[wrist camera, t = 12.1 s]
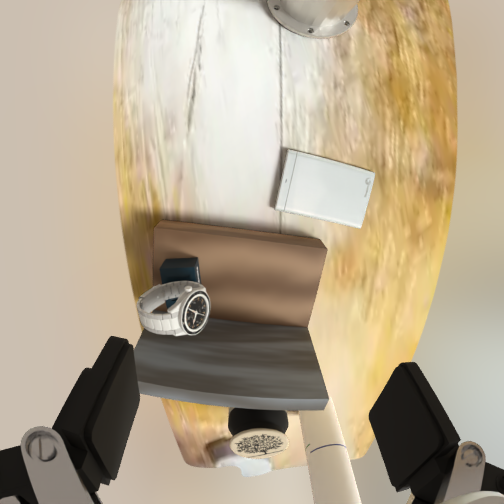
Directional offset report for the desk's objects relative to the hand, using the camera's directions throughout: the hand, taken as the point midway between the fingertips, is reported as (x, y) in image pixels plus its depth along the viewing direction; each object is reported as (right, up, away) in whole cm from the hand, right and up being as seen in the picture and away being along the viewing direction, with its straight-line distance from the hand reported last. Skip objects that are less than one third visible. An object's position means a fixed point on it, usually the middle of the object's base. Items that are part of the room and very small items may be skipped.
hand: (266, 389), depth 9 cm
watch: (-9, +1, +29) cm, 30 cm away
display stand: (-3, +1, +33) cm, 33 cm away
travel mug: (0, -13, +39) cm, 41 cm away
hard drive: (+9, +13, +30) cm, 34 cm away
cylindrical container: (+12, -26, +44) cm, 53 cm away
